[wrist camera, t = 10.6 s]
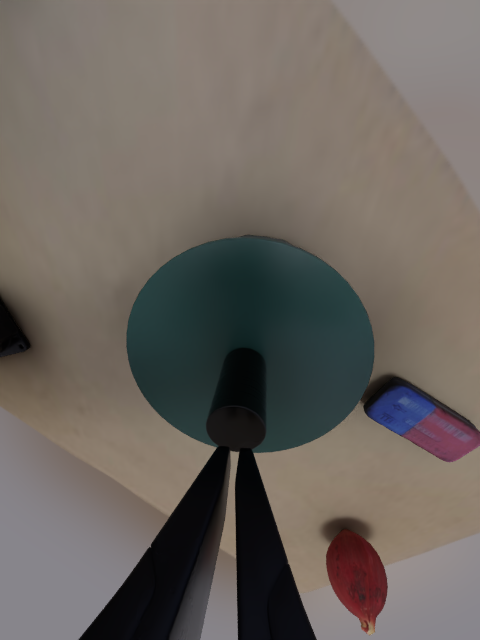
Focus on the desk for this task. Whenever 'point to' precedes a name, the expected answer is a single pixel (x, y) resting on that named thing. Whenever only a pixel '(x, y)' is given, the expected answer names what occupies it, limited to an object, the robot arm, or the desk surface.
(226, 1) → the desk surface
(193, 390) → the lid
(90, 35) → the desk surface
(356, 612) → the onion
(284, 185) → the desk surface
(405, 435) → the eraser
